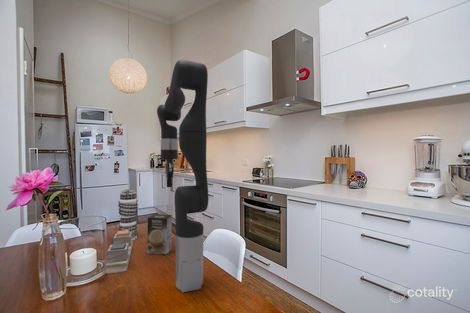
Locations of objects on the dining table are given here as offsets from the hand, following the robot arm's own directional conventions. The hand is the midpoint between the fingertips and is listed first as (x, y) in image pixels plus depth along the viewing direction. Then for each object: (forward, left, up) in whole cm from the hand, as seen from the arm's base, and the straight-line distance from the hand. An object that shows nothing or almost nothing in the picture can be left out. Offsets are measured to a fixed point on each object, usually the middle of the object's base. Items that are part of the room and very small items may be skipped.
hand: (169, 186), depth 106 cm
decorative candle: (+21, +19, -29) cm, 41 cm away
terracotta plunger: (+4, +20, -25) cm, 32 cm away
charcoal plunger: (-10, +20, -26) cm, 34 cm away
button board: (-3, +20, -29) cm, 35 cm away
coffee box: (-1, +4, -29) cm, 29 cm away
